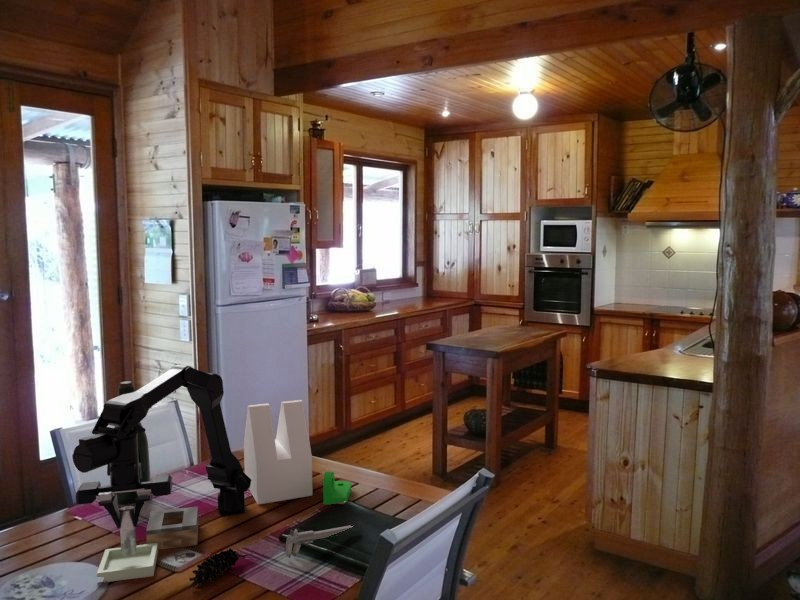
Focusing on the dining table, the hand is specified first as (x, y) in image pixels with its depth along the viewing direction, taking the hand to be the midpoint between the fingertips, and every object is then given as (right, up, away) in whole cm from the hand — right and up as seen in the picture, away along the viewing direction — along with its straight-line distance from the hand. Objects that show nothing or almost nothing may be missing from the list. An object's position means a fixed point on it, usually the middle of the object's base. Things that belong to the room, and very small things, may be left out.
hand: (127, 526), depth 141 cm
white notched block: (+24, -5, +47) cm, 53 cm away
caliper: (+42, -9, +11) cm, 44 cm away
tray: (0, -9, +1) cm, 9 cm away
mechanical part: (+42, -6, +41) cm, 59 cm away
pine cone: (+25, -12, +3) cm, 28 cm away
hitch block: (+5, -8, +15) cm, 18 cm away
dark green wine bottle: (-16, -6, +39) cm, 43 cm away
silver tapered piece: (0, -6, +1) cm, 6 cm away
